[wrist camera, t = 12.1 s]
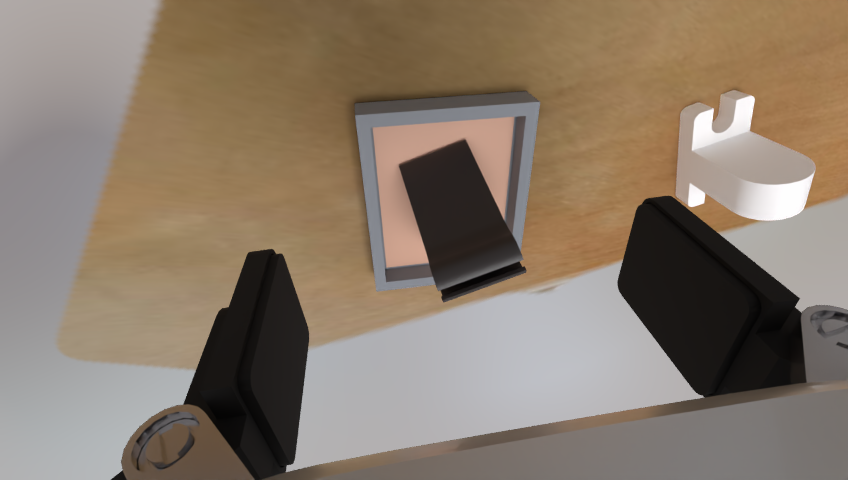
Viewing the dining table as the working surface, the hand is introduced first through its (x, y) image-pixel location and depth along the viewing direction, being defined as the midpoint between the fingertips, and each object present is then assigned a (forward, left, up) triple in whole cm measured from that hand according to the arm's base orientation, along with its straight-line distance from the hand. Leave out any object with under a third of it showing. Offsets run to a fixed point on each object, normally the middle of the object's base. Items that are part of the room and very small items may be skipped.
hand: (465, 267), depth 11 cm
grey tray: (-4, +11, -25) cm, 28 cm away
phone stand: (-4, +11, -24) cm, 27 cm away
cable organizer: (-30, +9, -25) cm, 40 cm away
